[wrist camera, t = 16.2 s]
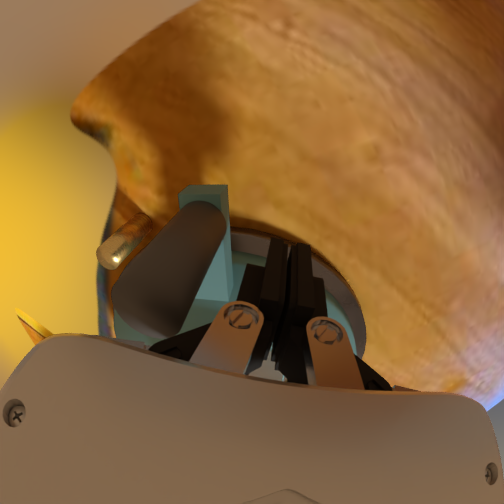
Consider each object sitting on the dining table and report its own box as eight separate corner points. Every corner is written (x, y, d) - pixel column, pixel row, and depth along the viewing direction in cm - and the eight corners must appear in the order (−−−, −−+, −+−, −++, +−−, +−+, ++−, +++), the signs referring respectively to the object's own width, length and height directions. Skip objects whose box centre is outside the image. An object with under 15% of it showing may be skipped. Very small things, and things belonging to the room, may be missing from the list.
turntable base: (156, 158, 16) (115, 179, 12) (415, 320, 19) (431, 363, 15) (100, 339, 26) (81, 369, 22) (269, 420, 30) (265, 451, 26)
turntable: (79, 185, 16) (-20, 250, 8) (396, 187, 13) (487, 284, 6) (155, 393, 28) (130, 455, 20) (328, 413, 26) (328, 486, 18)
